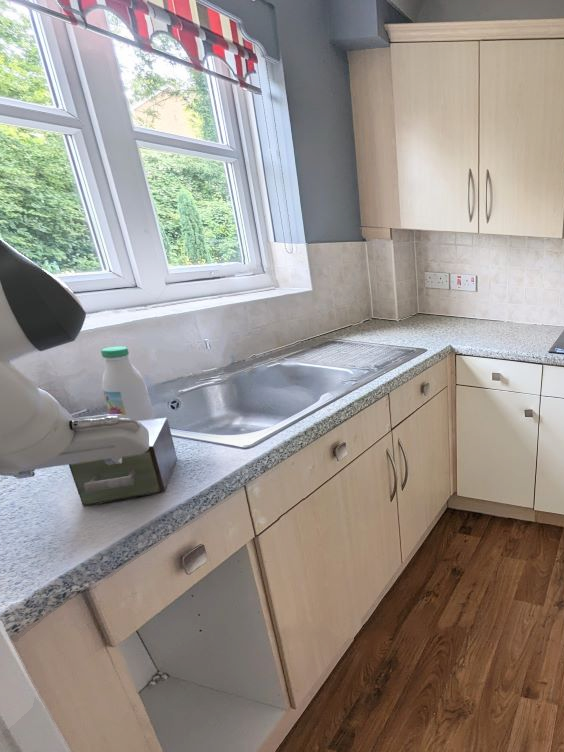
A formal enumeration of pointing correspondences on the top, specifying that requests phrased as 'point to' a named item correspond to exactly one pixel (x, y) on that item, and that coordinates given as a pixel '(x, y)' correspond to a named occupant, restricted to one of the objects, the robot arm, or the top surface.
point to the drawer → (115, 478)
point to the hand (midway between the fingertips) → (73, 465)
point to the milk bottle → (124, 386)
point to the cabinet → (155, 454)
